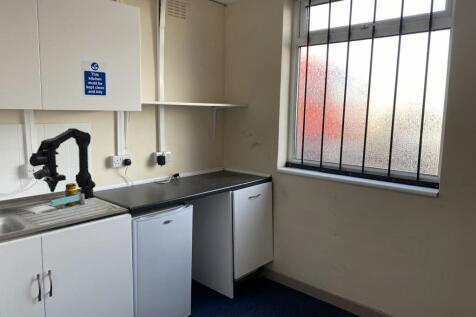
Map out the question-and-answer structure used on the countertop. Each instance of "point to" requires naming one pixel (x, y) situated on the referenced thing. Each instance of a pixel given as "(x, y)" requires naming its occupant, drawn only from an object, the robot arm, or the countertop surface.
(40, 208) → the mat
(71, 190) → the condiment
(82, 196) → the holder
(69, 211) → the countertop surface
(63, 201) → the bar
